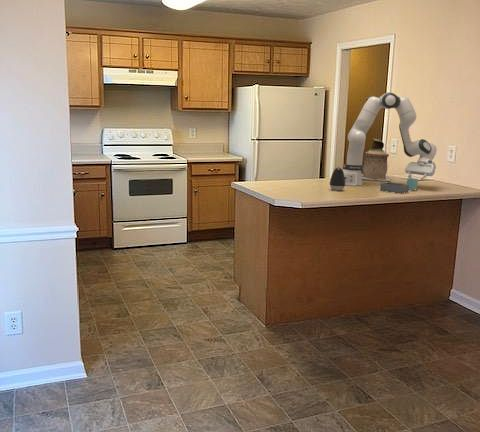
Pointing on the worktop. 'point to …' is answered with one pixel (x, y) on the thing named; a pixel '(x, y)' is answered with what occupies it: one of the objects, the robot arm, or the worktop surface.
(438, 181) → the worktop surface
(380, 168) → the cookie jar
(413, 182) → the teal crate
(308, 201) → the worktop surface
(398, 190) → the charcoal crate
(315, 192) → the worktop surface
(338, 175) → the black tapered dome
